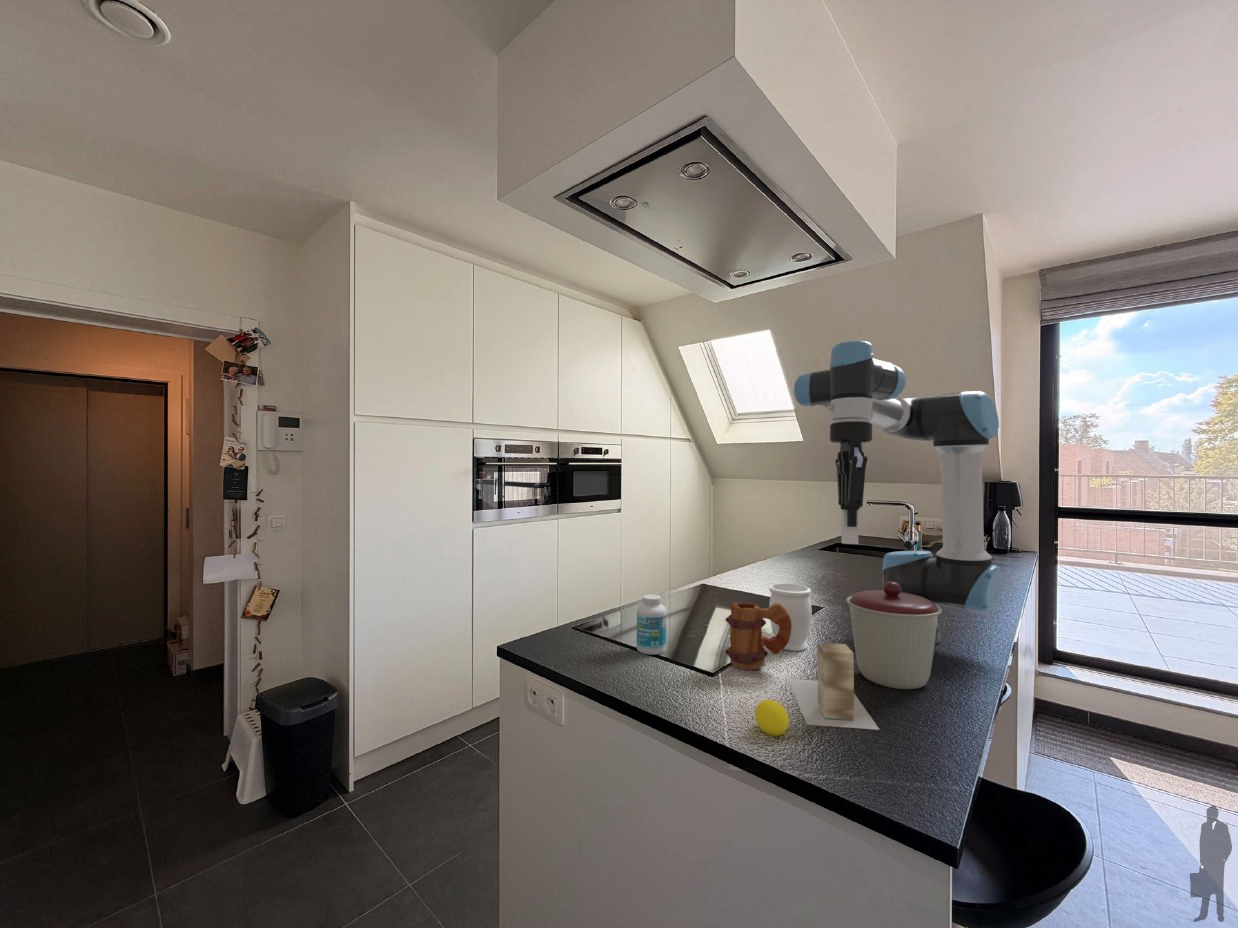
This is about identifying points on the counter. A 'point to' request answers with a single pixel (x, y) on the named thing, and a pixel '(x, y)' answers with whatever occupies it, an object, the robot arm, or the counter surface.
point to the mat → (809, 707)
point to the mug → (755, 634)
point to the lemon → (772, 717)
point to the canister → (894, 636)
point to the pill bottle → (651, 626)
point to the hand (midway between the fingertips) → (849, 543)
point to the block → (836, 681)
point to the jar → (793, 612)
